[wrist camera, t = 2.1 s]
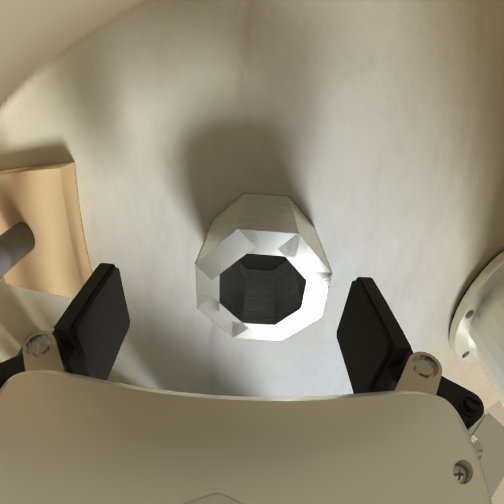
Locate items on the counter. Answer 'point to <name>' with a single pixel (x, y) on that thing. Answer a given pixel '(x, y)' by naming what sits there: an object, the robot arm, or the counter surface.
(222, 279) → the tube
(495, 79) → the counter surface
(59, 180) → the shaft stand
